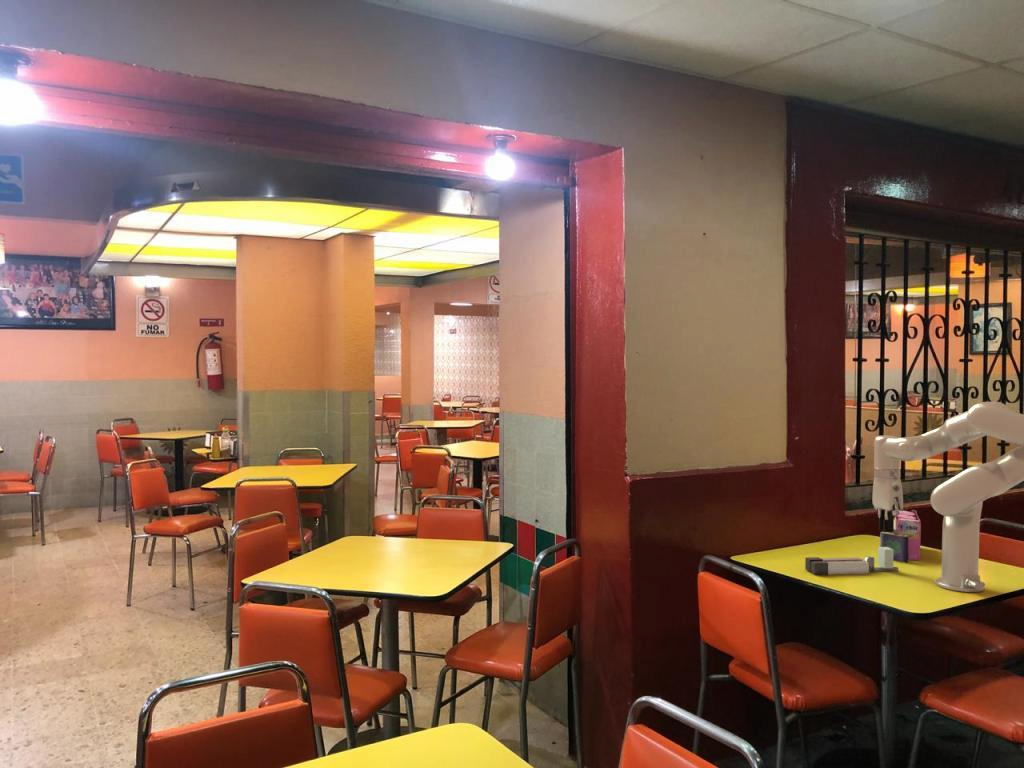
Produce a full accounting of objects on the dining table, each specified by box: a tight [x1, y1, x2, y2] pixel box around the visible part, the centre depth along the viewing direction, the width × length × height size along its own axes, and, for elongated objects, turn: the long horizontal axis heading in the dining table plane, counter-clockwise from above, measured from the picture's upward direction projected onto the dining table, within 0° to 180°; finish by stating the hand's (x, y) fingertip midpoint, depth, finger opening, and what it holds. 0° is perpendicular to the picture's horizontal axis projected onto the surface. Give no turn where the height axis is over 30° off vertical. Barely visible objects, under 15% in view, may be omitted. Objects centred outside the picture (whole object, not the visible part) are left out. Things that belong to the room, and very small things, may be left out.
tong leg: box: [804, 556, 864, 572], centre depth 246 cm, size 3×18×4 cm, turn 97°
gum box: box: [894, 509, 922, 562], centre depth 272 cm, size 24×8×14 cm, turn 156°
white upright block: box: [877, 546, 894, 568], centre depth 246 cm, size 4×3×6 cm
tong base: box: [809, 556, 899, 576], centre depth 244 cm, size 4×30×4 cm, turn 97°
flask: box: [879, 529, 909, 564], centre depth 260 cm, size 9×3×11 cm, turn 41°
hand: (886, 530), depth 246 cm, fingers closed
